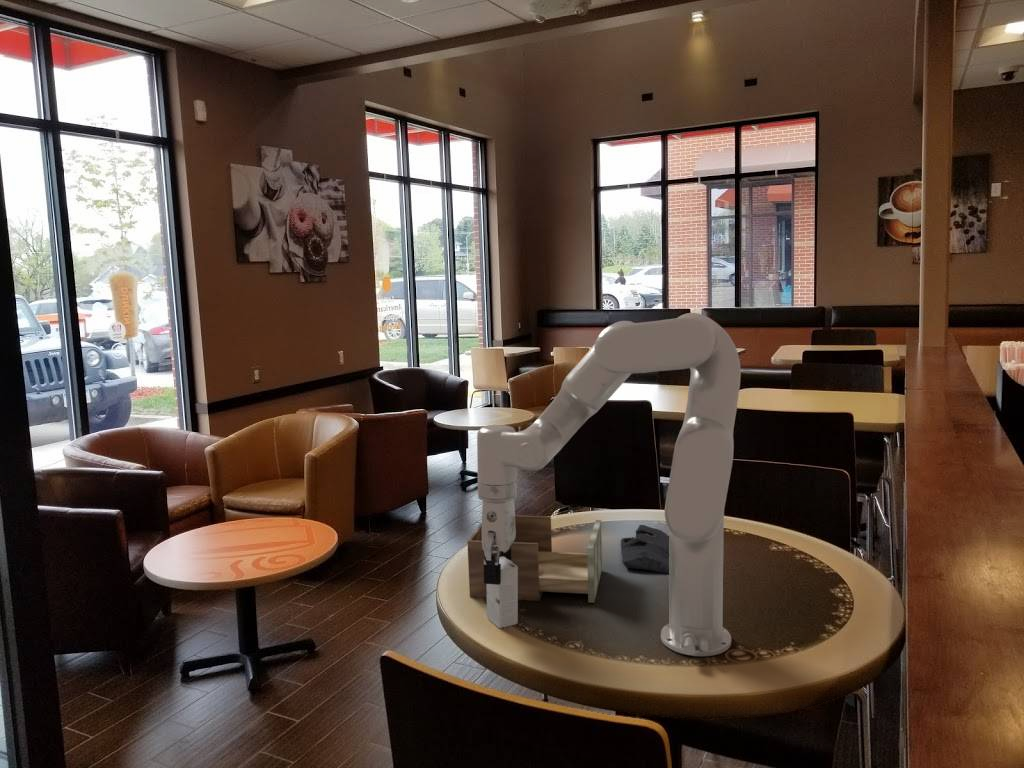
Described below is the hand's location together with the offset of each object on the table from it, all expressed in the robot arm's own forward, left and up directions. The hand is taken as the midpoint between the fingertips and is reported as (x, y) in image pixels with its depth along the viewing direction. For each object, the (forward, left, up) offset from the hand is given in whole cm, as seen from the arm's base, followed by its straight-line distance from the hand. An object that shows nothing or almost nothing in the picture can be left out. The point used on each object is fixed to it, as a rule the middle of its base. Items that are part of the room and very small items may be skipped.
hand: (498, 573), depth 149 cm
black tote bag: (+39, -28, -11) cm, 49 cm away
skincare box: (0, -1, -10) cm, 10 cm away
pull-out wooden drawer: (+19, -10, -9) cm, 23 cm away
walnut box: (+19, +1, -10) cm, 21 cm away
